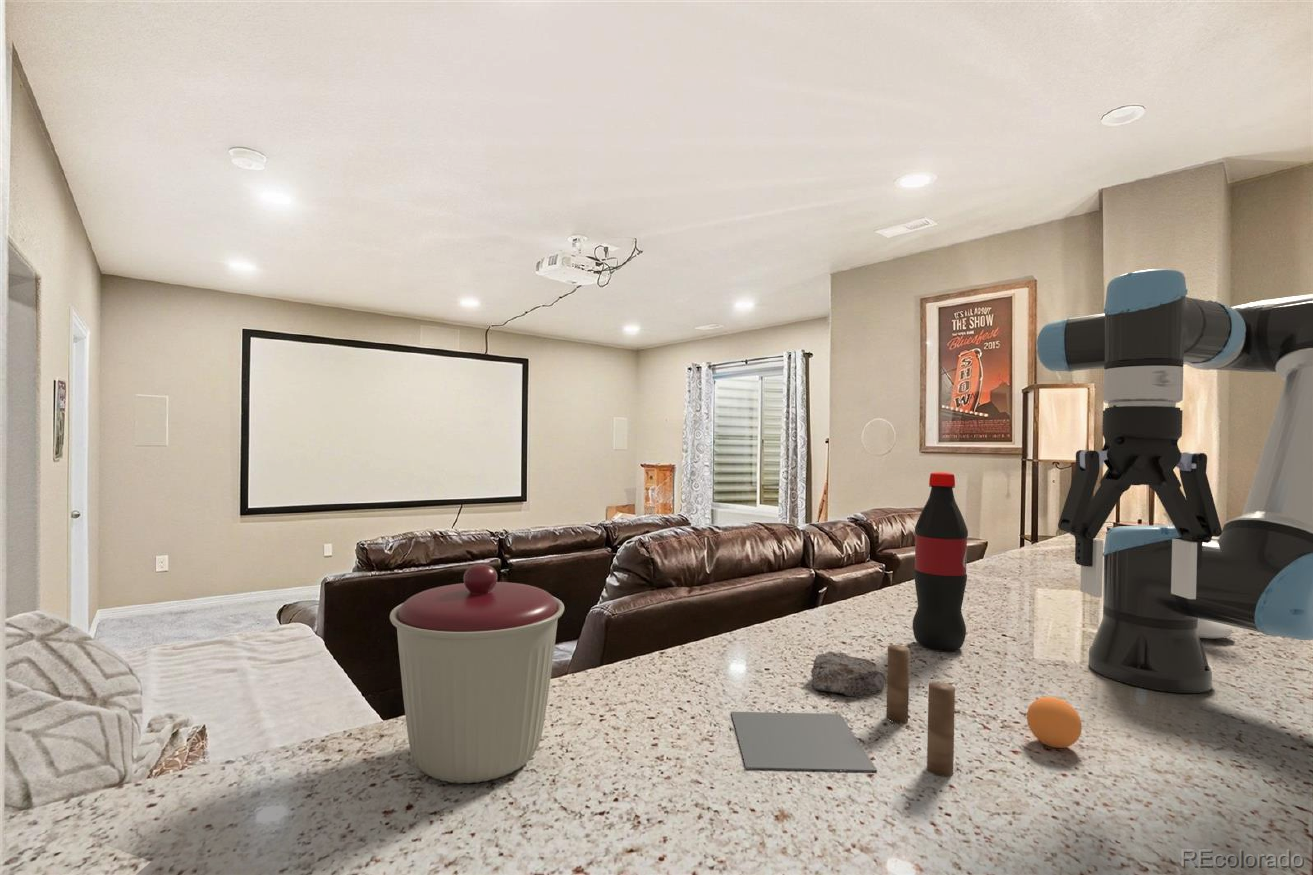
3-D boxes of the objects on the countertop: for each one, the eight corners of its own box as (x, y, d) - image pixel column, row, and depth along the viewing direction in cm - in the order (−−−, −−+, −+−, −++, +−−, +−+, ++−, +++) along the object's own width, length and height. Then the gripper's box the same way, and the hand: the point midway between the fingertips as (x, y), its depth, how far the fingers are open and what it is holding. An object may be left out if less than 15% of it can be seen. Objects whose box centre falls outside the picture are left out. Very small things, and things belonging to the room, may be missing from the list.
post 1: (903, 714, 84) (904, 645, 84) (911, 723, 82) (912, 651, 82) (883, 714, 84) (884, 644, 84) (890, 723, 82) (892, 651, 82)
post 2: (946, 764, 72) (948, 682, 72) (957, 776, 69) (959, 691, 69) (922, 763, 72) (924, 681, 72) (933, 776, 69) (934, 691, 69)
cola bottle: (968, 644, 114) (972, 472, 114) (961, 658, 107) (965, 474, 107) (917, 635, 118) (920, 470, 118) (907, 648, 111) (911, 472, 111)
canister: (500, 824, 59) (505, 591, 59) (346, 783, 65) (350, 573, 65) (589, 738, 76) (592, 557, 76) (460, 712, 82) (463, 545, 82)
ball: (1062, 735, 79) (1063, 689, 79) (1092, 757, 74) (1093, 708, 74) (1016, 734, 79) (1017, 688, 79) (1043, 756, 74) (1044, 707, 74)
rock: (893, 691, 93) (893, 663, 93) (833, 703, 88) (833, 673, 88) (849, 671, 101) (850, 644, 101) (792, 681, 96) (793, 653, 96)
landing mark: (840, 715, 84) (840, 713, 84) (877, 771, 70) (877, 770, 70) (731, 713, 84) (731, 711, 84) (745, 769, 70) (746, 767, 70)
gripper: (1064, 401, 73) (1059, 601, 73) (1268, 406, 73) (1263, 605, 73) (1026, 405, 80) (1022, 585, 80) (1211, 409, 80) (1207, 589, 80)
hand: (1137, 595), depth 77 cm, fingers open, 10 cm apart
